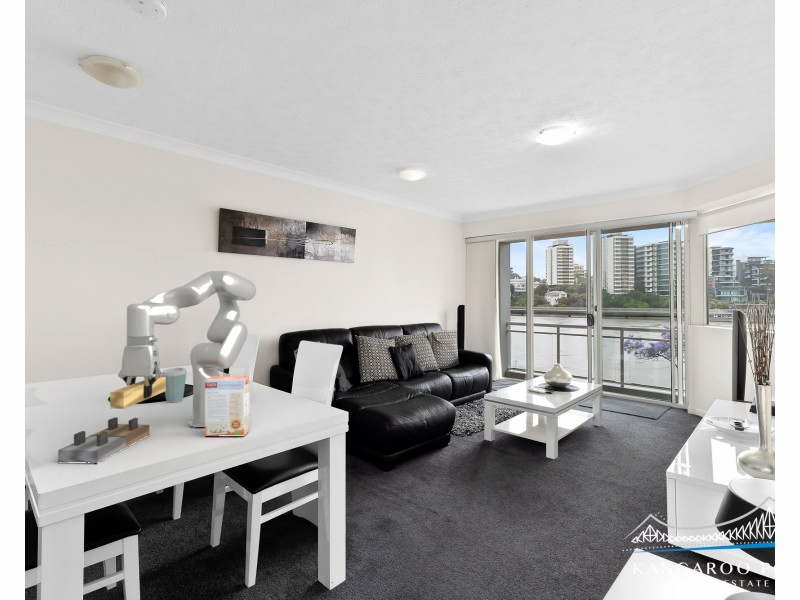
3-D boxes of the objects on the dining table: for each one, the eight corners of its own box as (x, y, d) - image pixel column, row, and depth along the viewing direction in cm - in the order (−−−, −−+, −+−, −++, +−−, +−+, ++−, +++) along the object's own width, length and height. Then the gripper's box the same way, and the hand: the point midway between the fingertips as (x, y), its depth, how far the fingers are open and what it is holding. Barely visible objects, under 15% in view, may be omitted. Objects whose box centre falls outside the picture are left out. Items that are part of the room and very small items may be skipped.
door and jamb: (149, 435, 145) (149, 414, 145) (97, 464, 121) (97, 439, 121) (116, 434, 145) (116, 414, 145) (58, 463, 121) (58, 438, 121)
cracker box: (249, 431, 150) (250, 375, 150) (244, 437, 144) (244, 379, 144) (211, 431, 150) (211, 375, 149) (204, 437, 144) (204, 379, 143)
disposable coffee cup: (178, 404, 185) (178, 371, 185) (155, 403, 185) (155, 371, 185) (191, 398, 196) (191, 367, 195) (169, 397, 196) (169, 367, 195)
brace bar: (165, 390, 143) (165, 376, 143) (123, 408, 121) (123, 392, 121) (154, 390, 143) (154, 376, 143) (110, 408, 121) (110, 392, 121)
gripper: (172, 340, 136) (172, 394, 136) (122, 339, 136) (122, 394, 136) (159, 343, 128) (159, 400, 129) (106, 342, 128) (106, 400, 128)
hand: (140, 396), depth 132 cm, fingers closed on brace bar, 4 cm apart
